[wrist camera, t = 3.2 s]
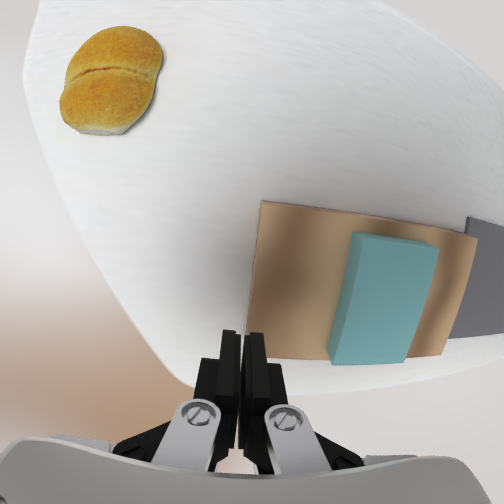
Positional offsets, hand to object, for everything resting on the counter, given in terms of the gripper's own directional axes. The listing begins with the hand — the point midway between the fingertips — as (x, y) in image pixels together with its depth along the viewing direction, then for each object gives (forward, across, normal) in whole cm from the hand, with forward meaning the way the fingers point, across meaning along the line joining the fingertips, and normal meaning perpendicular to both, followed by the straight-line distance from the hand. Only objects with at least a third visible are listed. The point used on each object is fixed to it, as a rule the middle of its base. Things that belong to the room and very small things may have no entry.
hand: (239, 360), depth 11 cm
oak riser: (+10, -10, 0) cm, 14 cm away
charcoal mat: (+10, -26, -1) cm, 28 cm away
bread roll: (+11, +11, -14) cm, 21 cm away
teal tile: (+6, -10, 0) cm, 12 cm away
